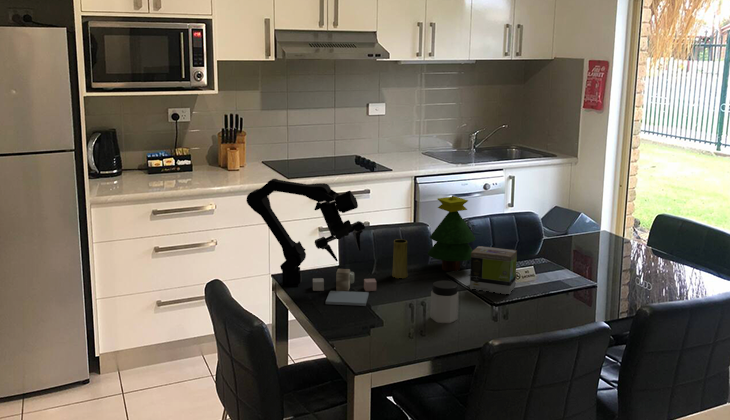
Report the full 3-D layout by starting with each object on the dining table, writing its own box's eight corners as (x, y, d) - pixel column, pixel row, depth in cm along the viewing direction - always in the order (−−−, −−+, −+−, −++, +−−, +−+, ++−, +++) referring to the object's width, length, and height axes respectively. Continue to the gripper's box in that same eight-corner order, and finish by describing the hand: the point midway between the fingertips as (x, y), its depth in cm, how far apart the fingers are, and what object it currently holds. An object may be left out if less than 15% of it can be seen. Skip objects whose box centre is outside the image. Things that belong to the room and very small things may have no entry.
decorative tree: (446, 279, 284) (448, 203, 277) (417, 265, 300) (419, 193, 293) (485, 271, 294) (488, 198, 287) (455, 259, 310) (458, 189, 303)
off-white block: (312, 291, 270) (312, 282, 270) (312, 287, 274) (312, 278, 274) (323, 290, 271) (323, 281, 270) (323, 287, 275) (323, 278, 274)
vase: (406, 279, 284) (407, 243, 280) (390, 278, 285) (391, 242, 282) (408, 274, 290) (409, 239, 286) (393, 273, 291) (393, 238, 287)
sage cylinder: (342, 283, 278) (342, 274, 278) (343, 279, 283) (343, 271, 282) (353, 284, 278) (353, 275, 277) (354, 280, 282) (354, 271, 281)
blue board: (325, 304, 257) (325, 301, 257) (330, 293, 268) (330, 290, 268) (365, 305, 256) (365, 303, 256) (368, 294, 266) (368, 292, 266)
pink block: (365, 291, 270) (365, 282, 270) (363, 287, 274) (363, 278, 273) (376, 291, 271) (376, 282, 270) (374, 287, 275) (374, 278, 274)
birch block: (336, 290, 271) (336, 272, 269) (337, 286, 275) (337, 268, 274) (348, 291, 270) (348, 273, 269) (349, 287, 275) (350, 269, 273)
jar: (441, 311, 251) (442, 278, 248) (461, 317, 246) (462, 283, 243) (425, 319, 244) (426, 285, 241) (446, 325, 239) (447, 290, 236)
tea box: (515, 287, 276) (517, 249, 272) (508, 296, 267) (511, 256, 263) (476, 281, 282) (478, 244, 278) (468, 289, 273) (470, 251, 269)
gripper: (311, 229, 259) (328, 269, 261) (360, 208, 262) (376, 248, 264) (307, 226, 269) (323, 265, 272) (353, 206, 273) (369, 245, 275)
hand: (348, 256), depth 270 cm, fingers open, 9 cm apart
